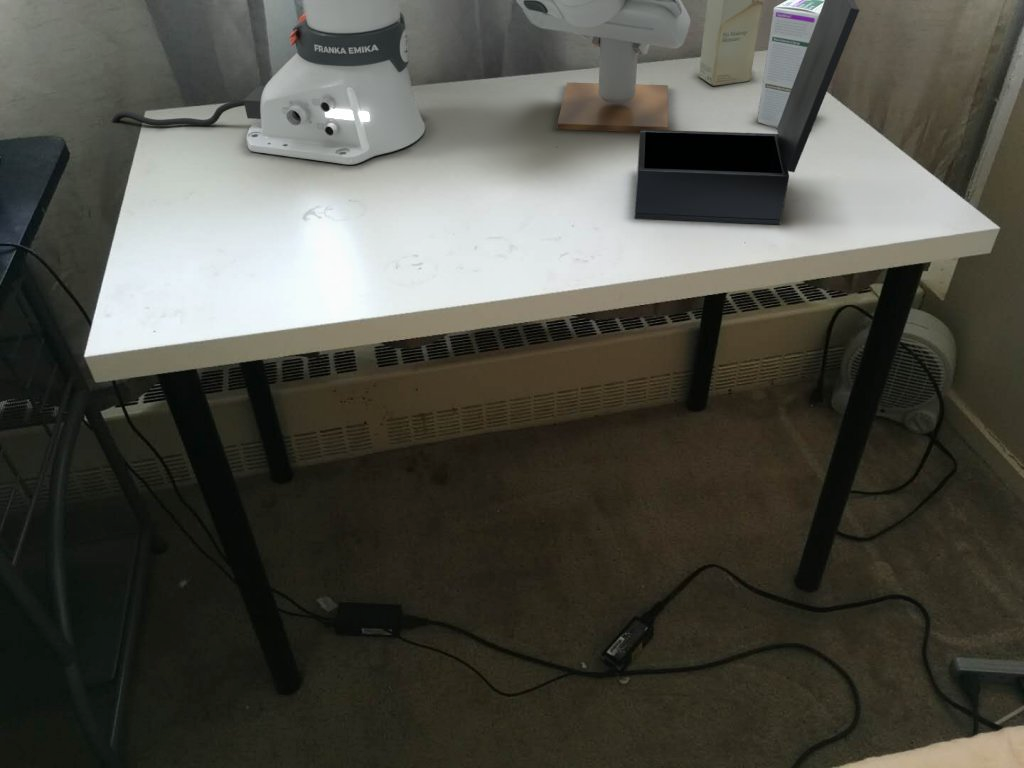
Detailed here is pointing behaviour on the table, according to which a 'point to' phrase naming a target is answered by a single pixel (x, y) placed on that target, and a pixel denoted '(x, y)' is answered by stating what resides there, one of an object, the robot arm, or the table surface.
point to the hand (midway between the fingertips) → (620, 45)
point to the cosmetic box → (729, 40)
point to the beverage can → (617, 70)
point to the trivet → (613, 109)
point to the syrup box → (785, 54)
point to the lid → (815, 77)
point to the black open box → (710, 177)
